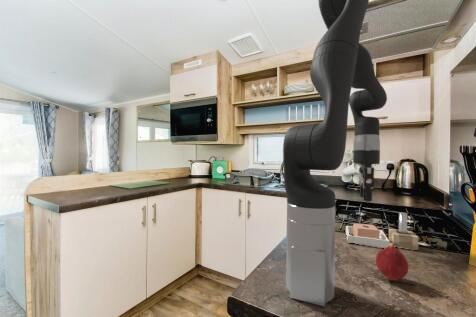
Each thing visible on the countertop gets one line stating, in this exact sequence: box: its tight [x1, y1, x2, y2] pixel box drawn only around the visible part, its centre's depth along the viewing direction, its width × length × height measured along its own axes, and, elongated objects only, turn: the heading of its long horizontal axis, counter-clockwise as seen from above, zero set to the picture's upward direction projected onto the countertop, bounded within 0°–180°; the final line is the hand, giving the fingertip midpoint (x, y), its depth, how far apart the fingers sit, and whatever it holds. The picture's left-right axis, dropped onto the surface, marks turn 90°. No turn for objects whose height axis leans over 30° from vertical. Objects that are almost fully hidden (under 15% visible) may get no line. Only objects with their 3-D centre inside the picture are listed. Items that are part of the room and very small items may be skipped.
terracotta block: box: [352, 222, 380, 239], centre depth 71 cm, size 6×6×4 cm
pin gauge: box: [398, 212, 408, 234], centre depth 67 cm, size 2×2×10 cm
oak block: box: [388, 228, 419, 251], centre depth 67 cm, size 6×6×4 cm
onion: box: [375, 243, 409, 282], centre depth 47 cm, size 6×6×8 cm
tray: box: [345, 225, 390, 249], centre depth 71 cm, size 11×11×2 cm
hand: (365, 198), depth 71 cm, fingers open, 8 cm apart
